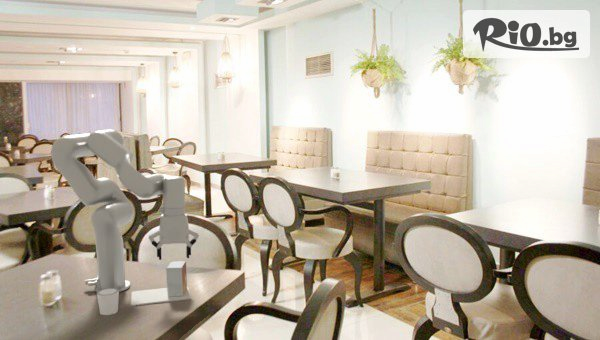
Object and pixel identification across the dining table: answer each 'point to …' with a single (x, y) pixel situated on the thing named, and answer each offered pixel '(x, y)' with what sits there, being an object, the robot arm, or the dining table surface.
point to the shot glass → (108, 301)
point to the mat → (156, 296)
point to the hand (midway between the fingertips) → (174, 257)
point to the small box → (176, 278)
